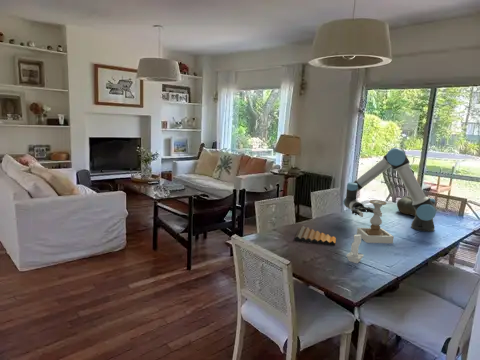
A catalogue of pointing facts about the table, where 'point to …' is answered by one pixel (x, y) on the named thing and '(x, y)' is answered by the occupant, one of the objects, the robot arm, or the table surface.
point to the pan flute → (314, 236)
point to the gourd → (406, 205)
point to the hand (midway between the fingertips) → (372, 214)
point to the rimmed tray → (375, 236)
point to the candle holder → (376, 218)
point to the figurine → (355, 250)
